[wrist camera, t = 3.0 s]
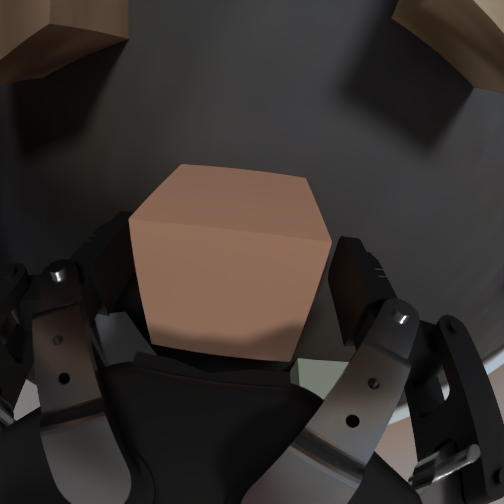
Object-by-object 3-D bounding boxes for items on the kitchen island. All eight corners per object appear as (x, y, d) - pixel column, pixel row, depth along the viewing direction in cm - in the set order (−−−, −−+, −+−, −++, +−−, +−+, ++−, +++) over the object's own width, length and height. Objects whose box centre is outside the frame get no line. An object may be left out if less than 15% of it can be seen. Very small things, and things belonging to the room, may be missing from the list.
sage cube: (277, 390, 20) (278, 446, 16) (297, 357, 17) (302, 425, 13) (333, 393, 20) (340, 444, 16) (361, 361, 17) (374, 421, 13)
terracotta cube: (182, 263, 13) (151, 343, 9) (181, 163, 10) (128, 218, 6) (284, 275, 13) (289, 361, 9) (305, 177, 11) (332, 242, 6)
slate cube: (111, 357, 19) (91, 407, 15) (76, 314, 16) (46, 367, 12) (160, 358, 18) (143, 417, 14) (125, 310, 15) (96, 375, 11)
